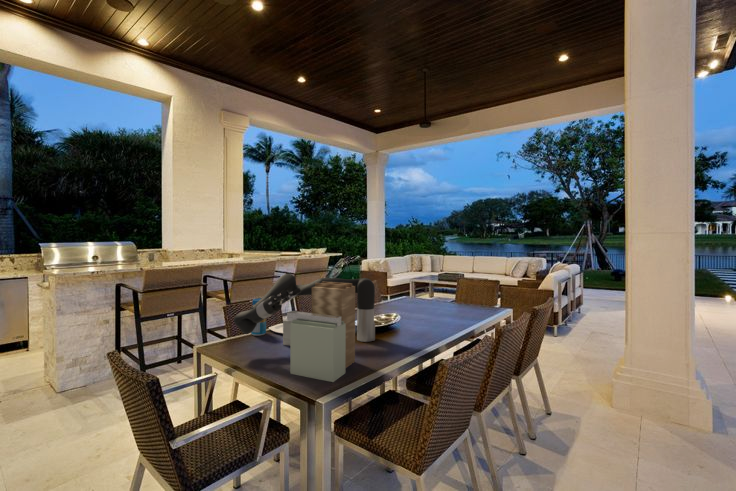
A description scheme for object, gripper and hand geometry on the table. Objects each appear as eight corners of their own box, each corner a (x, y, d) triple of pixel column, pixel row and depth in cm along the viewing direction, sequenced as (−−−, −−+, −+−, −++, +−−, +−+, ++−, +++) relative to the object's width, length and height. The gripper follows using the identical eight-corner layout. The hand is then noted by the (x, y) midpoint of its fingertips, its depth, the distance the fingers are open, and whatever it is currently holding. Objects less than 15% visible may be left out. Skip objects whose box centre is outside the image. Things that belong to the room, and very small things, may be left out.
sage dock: (290, 373, 144) (290, 320, 144) (304, 365, 154) (304, 315, 153) (333, 382, 136) (333, 326, 136) (345, 373, 145) (345, 320, 145)
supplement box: (296, 346, 181) (296, 321, 181) (282, 345, 182) (282, 320, 182) (301, 342, 188) (301, 318, 188) (288, 341, 190) (288, 317, 189)
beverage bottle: (250, 336, 198) (250, 300, 197) (251, 332, 206) (251, 298, 206) (266, 335, 200) (266, 300, 200) (266, 331, 208) (266, 297, 208)
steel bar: (287, 320, 149) (287, 312, 149) (292, 319, 152) (292, 311, 152) (337, 327, 139) (337, 318, 139) (341, 325, 142) (341, 316, 142)
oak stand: (311, 365, 154) (311, 283, 153) (326, 357, 165) (326, 280, 164) (341, 370, 148) (342, 285, 147) (354, 361, 159) (355, 282, 158)
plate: (297, 322, 232) (297, 319, 232) (326, 329, 215) (326, 326, 215) (261, 331, 211) (261, 327, 211) (290, 339, 194) (290, 335, 194)
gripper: (254, 302, 156) (280, 285, 151) (275, 297, 169) (299, 281, 164) (262, 318, 155) (288, 301, 149) (281, 311, 168) (307, 296, 162)
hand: (294, 291), depth 157 cm, fingers open, 8 cm apart
